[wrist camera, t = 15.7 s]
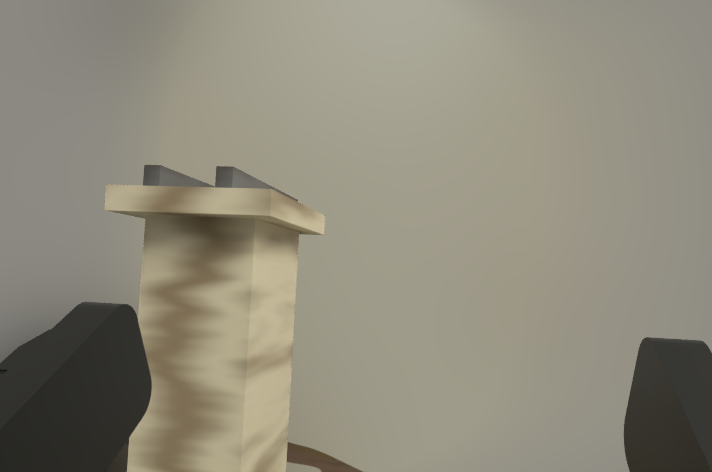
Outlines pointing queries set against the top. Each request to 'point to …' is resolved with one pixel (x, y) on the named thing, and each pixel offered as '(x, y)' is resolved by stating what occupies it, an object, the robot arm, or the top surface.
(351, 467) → the top surface
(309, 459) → the top surface
